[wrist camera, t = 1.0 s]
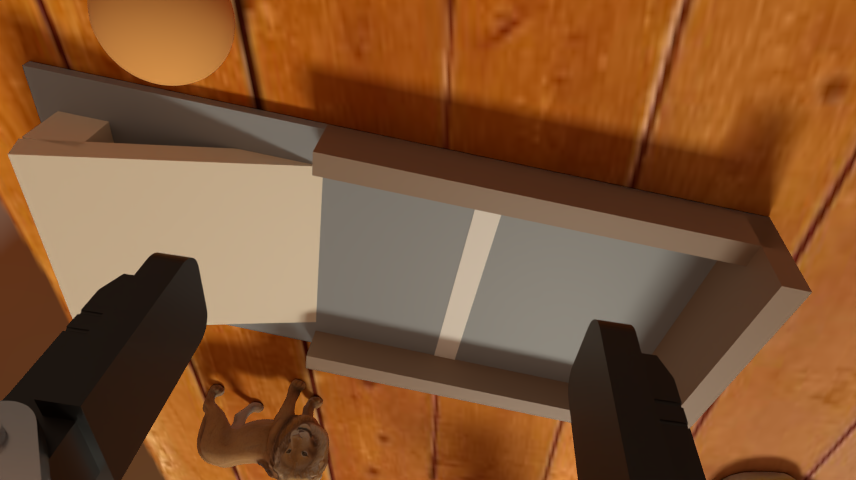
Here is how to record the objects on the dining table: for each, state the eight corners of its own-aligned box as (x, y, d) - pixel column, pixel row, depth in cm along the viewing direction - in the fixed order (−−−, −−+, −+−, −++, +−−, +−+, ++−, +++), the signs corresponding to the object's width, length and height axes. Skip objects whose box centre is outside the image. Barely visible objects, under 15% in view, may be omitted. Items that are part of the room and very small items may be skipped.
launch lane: (109, 285, 44) (54, 353, 39) (39, 55, 32) (-56, 110, 26) (632, 393, 44) (647, 475, 39) (764, 208, 32) (812, 292, 27)
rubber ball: (123, -84, 25) (36, -53, 21) (251, -56, 25) (192, -20, 21) (145, 43, 29) (76, 92, 25) (256, 67, 29) (208, 120, 25)
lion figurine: (330, 362, 45) (297, 465, 39) (360, 399, 48) (334, 502, 42) (192, 386, 50) (141, 481, 44) (227, 418, 53) (184, 513, 46)
